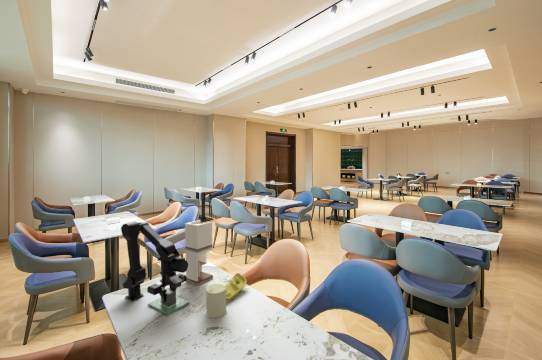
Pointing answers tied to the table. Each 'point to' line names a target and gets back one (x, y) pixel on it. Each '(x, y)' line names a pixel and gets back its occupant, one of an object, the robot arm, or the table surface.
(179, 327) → the table surface
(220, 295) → the can
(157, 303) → the pcb board
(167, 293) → the grey ice pop
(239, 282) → the plastic component
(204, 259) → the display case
